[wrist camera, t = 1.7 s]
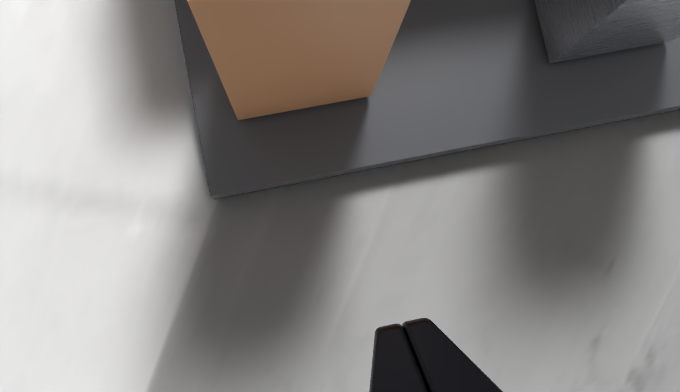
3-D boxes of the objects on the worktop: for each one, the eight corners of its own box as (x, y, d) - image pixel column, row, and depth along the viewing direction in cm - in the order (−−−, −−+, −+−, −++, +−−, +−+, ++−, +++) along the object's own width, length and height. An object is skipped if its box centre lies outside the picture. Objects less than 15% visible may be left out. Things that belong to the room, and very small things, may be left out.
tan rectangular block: (371, 95, 23) (426, -39, 13) (237, 120, 22) (186, 1, 12) (355, 19, 23) (396, -170, 13) (223, 42, 22) (162, -137, 13)
